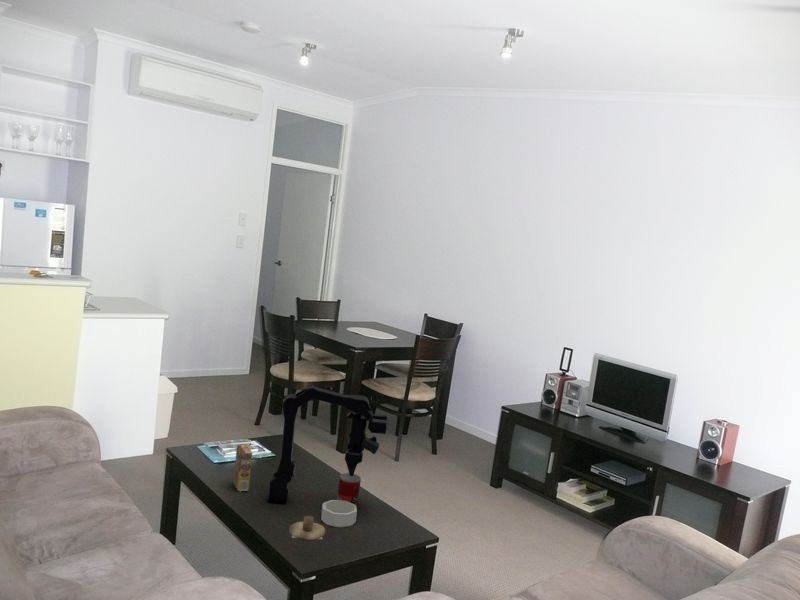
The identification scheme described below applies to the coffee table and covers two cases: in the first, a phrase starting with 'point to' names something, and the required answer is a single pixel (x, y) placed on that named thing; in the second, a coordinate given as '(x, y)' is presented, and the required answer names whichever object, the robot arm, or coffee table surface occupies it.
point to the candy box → (242, 468)
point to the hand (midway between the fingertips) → (352, 471)
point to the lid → (307, 529)
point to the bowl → (338, 513)
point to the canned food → (349, 488)
